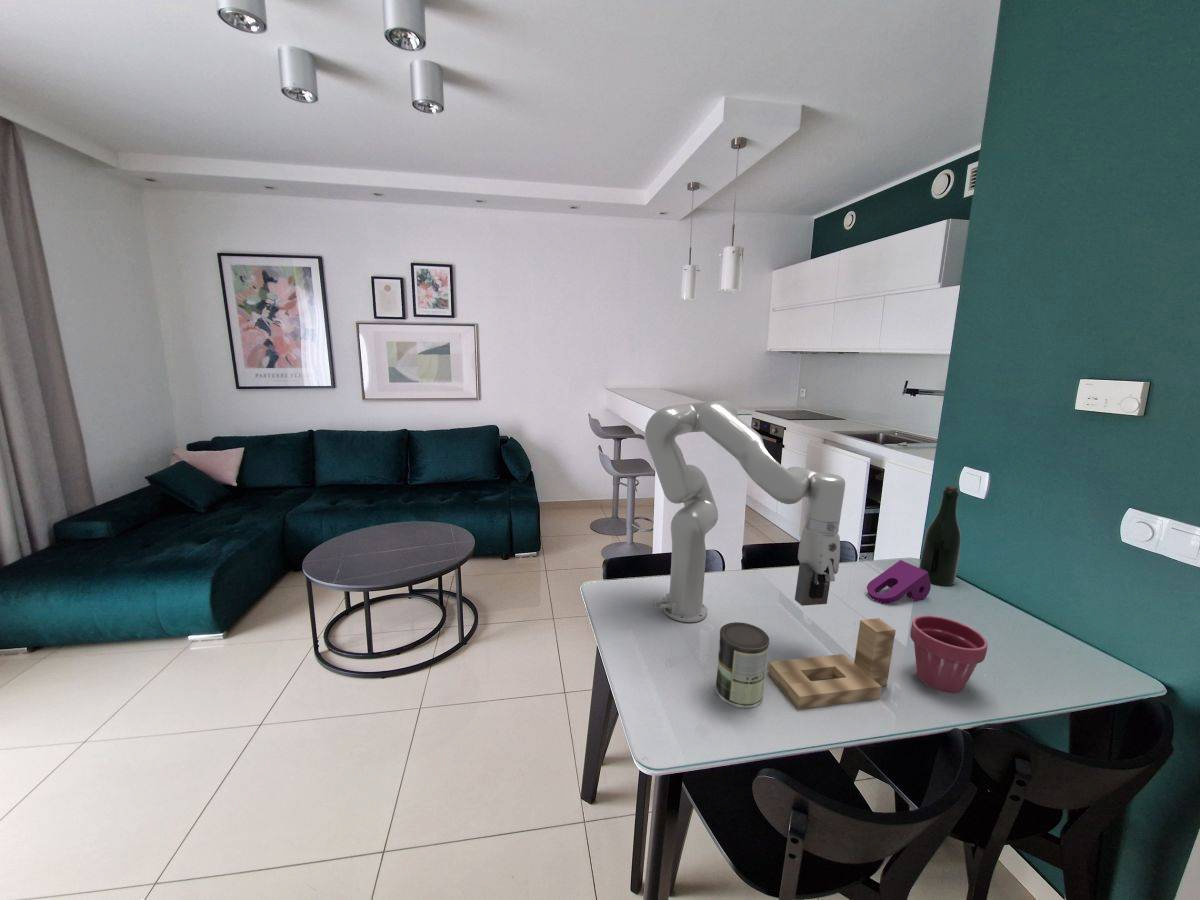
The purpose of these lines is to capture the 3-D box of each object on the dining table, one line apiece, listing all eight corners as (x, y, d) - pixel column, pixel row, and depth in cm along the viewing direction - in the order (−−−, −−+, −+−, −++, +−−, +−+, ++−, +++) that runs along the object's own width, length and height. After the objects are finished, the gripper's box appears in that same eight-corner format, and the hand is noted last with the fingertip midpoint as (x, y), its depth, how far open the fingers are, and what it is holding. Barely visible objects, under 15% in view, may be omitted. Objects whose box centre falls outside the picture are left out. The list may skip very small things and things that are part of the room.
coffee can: (706, 693, 108) (711, 635, 105) (727, 671, 116) (732, 616, 113) (752, 716, 102) (758, 655, 99) (770, 691, 110) (776, 633, 107)
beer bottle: (953, 578, 170) (969, 486, 164) (955, 589, 161) (973, 493, 155) (917, 570, 176) (932, 481, 169) (917, 581, 167) (933, 487, 161)
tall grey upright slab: (801, 605, 121) (807, 568, 119) (794, 599, 124) (799, 562, 122) (826, 603, 122) (832, 566, 120) (819, 598, 125) (824, 561, 123)
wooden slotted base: (798, 709, 104) (805, 649, 101) (767, 673, 116) (773, 619, 113) (898, 695, 109) (908, 638, 107) (860, 662, 121) (868, 610, 118)
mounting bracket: (891, 623, 151) (932, 592, 155) (886, 602, 148) (928, 571, 152) (865, 608, 159) (905, 579, 163) (859, 588, 157) (900, 559, 161)
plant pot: (983, 682, 115) (993, 632, 112) (970, 711, 105) (981, 657, 103) (913, 654, 125) (921, 608, 122) (896, 678, 115) (904, 628, 113)
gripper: (859, 536, 112) (847, 610, 116) (814, 512, 128) (805, 578, 131) (830, 537, 110) (818, 612, 114) (788, 513, 126) (779, 579, 130)
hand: (811, 593), depth 123 cm, fingers closed on tall grey upright slab, 3 cm apart
